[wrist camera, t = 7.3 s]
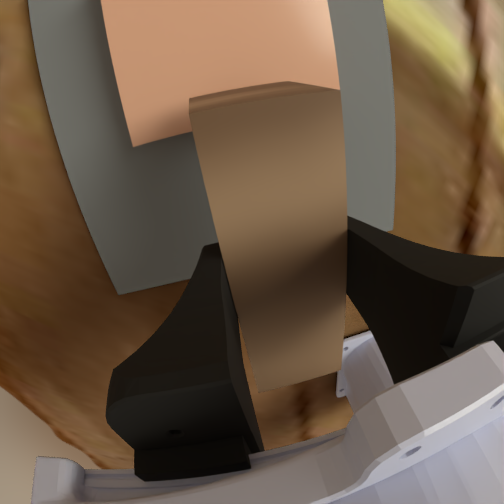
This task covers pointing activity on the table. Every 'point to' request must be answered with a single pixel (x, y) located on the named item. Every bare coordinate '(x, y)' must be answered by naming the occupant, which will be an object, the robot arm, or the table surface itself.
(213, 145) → the brown wooden block
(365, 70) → the slate mat
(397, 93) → the table surface
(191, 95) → the tile
